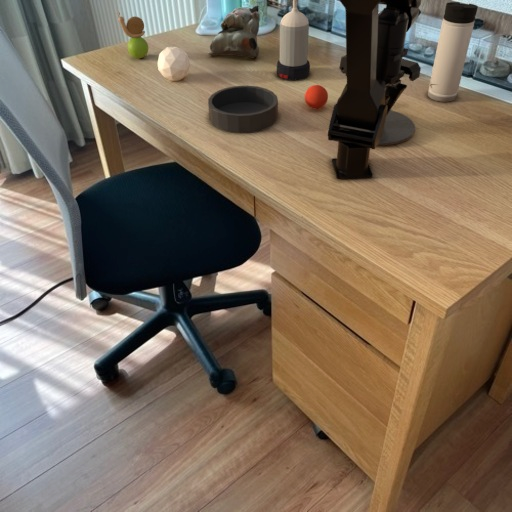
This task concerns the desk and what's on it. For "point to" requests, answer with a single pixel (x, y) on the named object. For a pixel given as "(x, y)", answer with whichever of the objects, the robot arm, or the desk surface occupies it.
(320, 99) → the ball
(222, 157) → the desk surface
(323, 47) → the desk surface
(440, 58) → the travel mug
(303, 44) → the humidifier
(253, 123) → the black round open container
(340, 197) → the desk surface
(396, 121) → the flat gray disc
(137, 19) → the snail figurine
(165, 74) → the geometric ball
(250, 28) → the lucky cat figurine
